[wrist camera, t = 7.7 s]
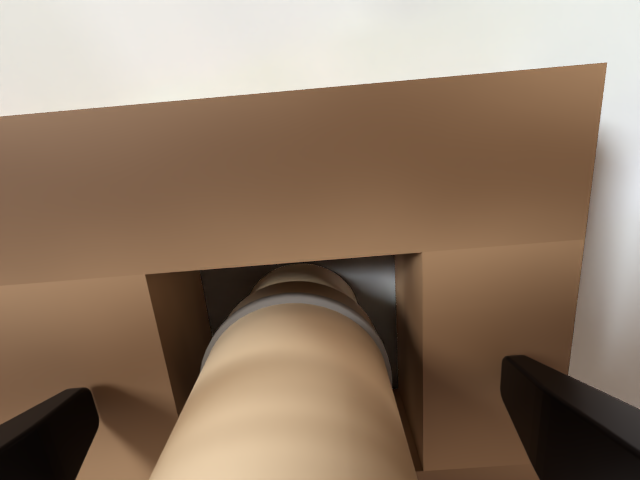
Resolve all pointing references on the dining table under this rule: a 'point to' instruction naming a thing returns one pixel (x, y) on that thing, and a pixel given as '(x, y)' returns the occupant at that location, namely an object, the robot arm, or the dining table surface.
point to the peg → (291, 391)
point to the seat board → (299, 244)
